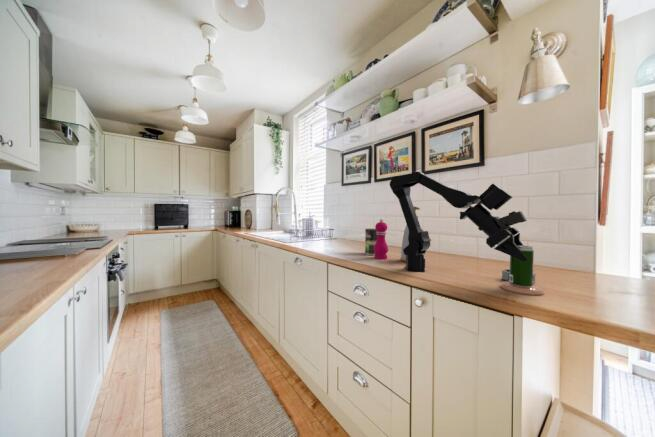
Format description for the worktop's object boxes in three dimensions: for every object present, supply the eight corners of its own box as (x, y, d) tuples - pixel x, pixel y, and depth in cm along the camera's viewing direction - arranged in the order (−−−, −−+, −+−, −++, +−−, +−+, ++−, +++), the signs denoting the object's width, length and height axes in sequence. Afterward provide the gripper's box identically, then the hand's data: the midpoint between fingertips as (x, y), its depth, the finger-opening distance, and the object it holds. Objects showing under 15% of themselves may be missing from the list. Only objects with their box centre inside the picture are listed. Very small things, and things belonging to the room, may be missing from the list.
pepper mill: (388, 259, 114) (389, 219, 114) (373, 259, 115) (374, 219, 115) (387, 257, 121) (388, 219, 121) (373, 256, 122) (374, 218, 122)
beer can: (517, 288, 67) (518, 247, 67) (505, 282, 72) (506, 244, 72) (537, 289, 66) (538, 247, 66) (523, 283, 72) (525, 245, 72)
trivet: (515, 294, 65) (515, 290, 65) (493, 284, 75) (493, 280, 75) (554, 296, 64) (554, 292, 64) (526, 285, 74) (526, 282, 74)
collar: (513, 283, 75) (514, 274, 75) (497, 277, 83) (497, 268, 83) (541, 284, 74) (541, 275, 74) (521, 278, 82) (522, 269, 82)
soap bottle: (395, 259, 115) (395, 206, 114) (414, 258, 118) (415, 207, 118) (409, 264, 104) (410, 205, 104) (430, 263, 107) (431, 206, 107)
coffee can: (369, 256, 124) (369, 229, 124) (362, 252, 134) (362, 228, 134) (386, 255, 126) (387, 229, 126) (378, 252, 136) (378, 228, 136)
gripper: (500, 200, 65) (554, 243, 58) (511, 203, 78) (556, 238, 71) (468, 227, 71) (513, 269, 63) (483, 225, 84) (522, 260, 76)
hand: (527, 258), depth 68 cm, fingers open, 9 cm apart
